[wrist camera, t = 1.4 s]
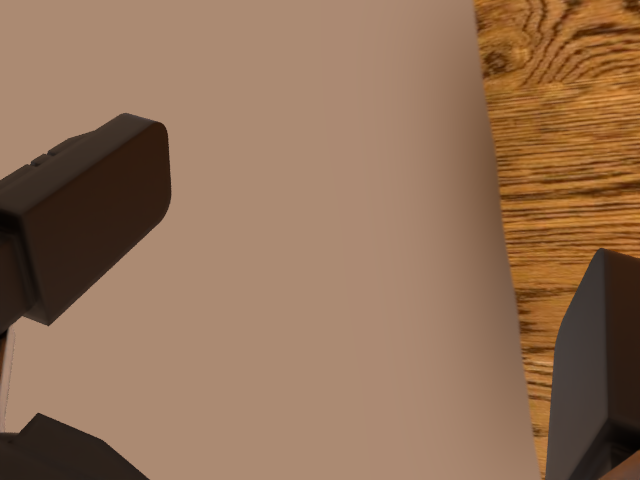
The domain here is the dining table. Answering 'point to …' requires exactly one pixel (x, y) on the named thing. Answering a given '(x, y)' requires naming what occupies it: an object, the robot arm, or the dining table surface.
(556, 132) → the dining table surface
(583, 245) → the dining table surface
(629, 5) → the dining table surface
